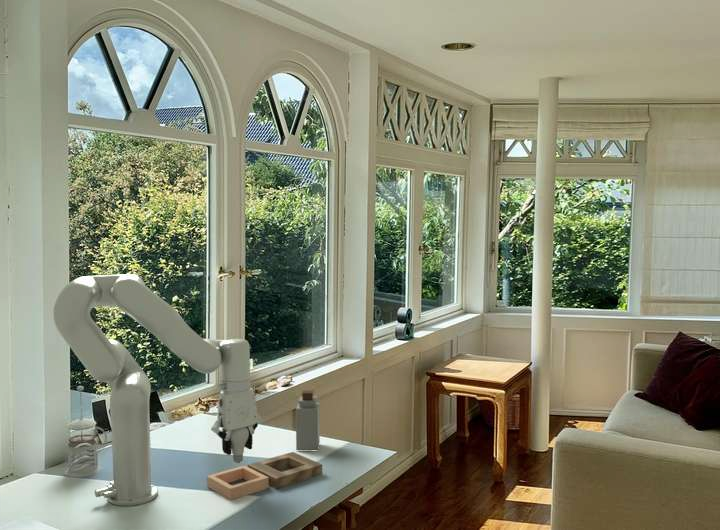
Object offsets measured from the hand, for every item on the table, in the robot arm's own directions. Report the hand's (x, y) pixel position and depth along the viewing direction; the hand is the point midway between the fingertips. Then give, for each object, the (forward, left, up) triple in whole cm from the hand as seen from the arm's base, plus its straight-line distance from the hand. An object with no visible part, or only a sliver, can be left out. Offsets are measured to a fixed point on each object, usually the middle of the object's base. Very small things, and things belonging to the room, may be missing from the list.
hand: (237, 450), depth 196 cm
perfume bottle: (+34, +13, -11) cm, 38 cm away
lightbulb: (0, 0, -4) cm, 4 cm away
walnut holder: (+15, -1, -10) cm, 18 cm away
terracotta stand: (0, 0, -10) cm, 10 cm away
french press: (-26, +40, -11) cm, 49 cm away
